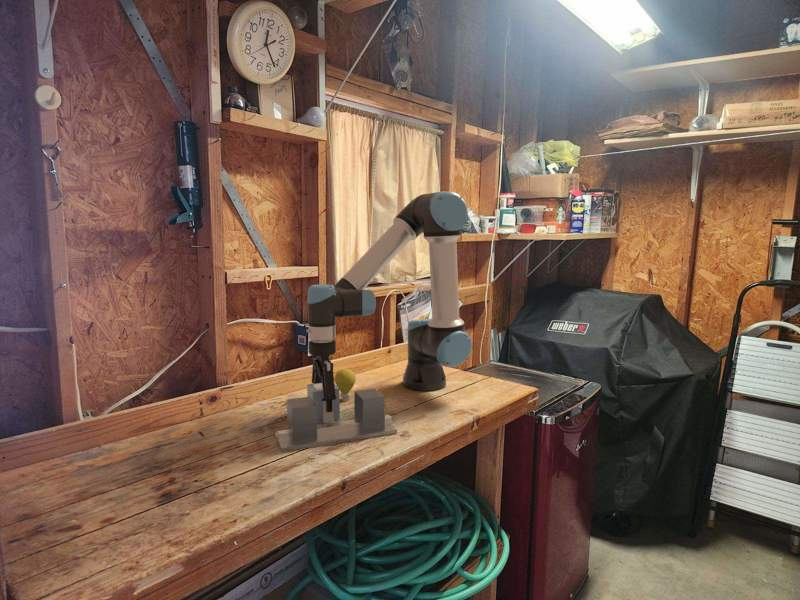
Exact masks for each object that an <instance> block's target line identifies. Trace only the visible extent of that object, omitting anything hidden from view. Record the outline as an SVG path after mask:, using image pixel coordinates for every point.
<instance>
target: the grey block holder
mask: <svg viewBox="0 0 800 600" xmlns="http://www.w3.org/2000/svg"><path fill="white" fill-rule="evenodd" d="M353 395H354V396H353V397H354V398H353V399H354V403H353V404H354V409H353V411H354V419H350V420H342V421H334V422H331V423H322V424H318V423H317V408H316V404H315V403H314V401H313V400H312V399H311V397H307V396H304V397H296V398H290V399H286V416H287V417H286V419H287V422H286V423H287V424H286V425H287V429H282V430H277V431H276V432H275V433H274V437H275V440H276V442H277V444H278V447H279V450H280V452H281V453H286V452H291V451H298V450H303V449H310V448H317V447H322V446H329V445H334V444H341V443H347V442H355V441H359V440H364V439H370V438H378V437H382V436H390V435H395V434H398V429H397V428H396V427H395V426H394V425H393V417H392V416H391V414H385V413H386V412H385V411H386V409H385V407H386V406H385V405H386V404H385V401H386V399H385V398H386V397H385V395H384V394H383V393H382V392H380V391H379V390H378V389H376V388H369V389H362V390H361V389H359V390H355V391H354V390H353Z"/></svg>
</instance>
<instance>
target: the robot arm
mask: <svg viewBox="0 0 800 600" xmlns="http://www.w3.org/2000/svg"><path fill="white" fill-rule="evenodd" d="M468 209H469V208H468V206H467V204H466V201H465V199H463V197H461V196H460V194H459V193H456V192H454V191H447V190H446V191H445V190H442V191H438V192H437V191H436V192H429V193H424V194H420V195H417V197H415V198H413V199H412V200H411V201H410V202H409V203H407V205H406V206H404V208H402V210H401V211H400V212H399V213H398V214H397V215H396V216H395V217H394V218H393V220H392V221H393V223H392V224H391V226H390V227H389V228H388V229H387V230H386V231H385V232H384V233H383V234H382V235H381V236H380V237H379V238H378V239H377V241H375V243H374V244H372V245H371V247H370V248H368V250H367V251H366V252H365V253H364V255H362V256H361V257H360V259H358V261H356V263H355V264H354V265H353V266H352V267H351V268H350V269H348V271H347V272H346V273H345V274H344V275H343V276H342V277H341V278H340V279H339V280H338V281H337V282H336V283H335V284H325V283H324V284H323V283H322V284H320V283H319V284H312V285H310V286H309V287H308V289H307V301H306V303H307V315H308V316H307V319H308V322H307V323H308V324H307V325H308V329H306V333H308V339H309V341H308V353H309V355H310V356H312V367H311V368H312V370H311V371H312V373H311V384H317V383H322V387H323V394H324V398H323V399H322V401H323V420H324V422H323V424H328V423H335V420H334V403H333V400H335V399H336V395H335V385H336V384H335V375H334V363H333V362H332V361H331V360H330V356H333V355H335V354H336V353H337V343H336V340H335V339H336V338H337V333H336V332H337V329H336V327H337V325H336V324H337V323H336V319H338V318H351V317H353V318H354V317H364V316H371V315H373V314H374V313H375V312H376V308H377V299H376V295H375V293H374V292H373V291H372V290H371V289H366V288H367V287H368V286H369V284H371V282H372V281H373V280H374V279H375V278H376V277H377V276H378V275H379V274H380V273H381V272H382V271H383V269H384V268H386V267H387V266H388V264H389V263H390V262H391V261H392V260H393V259H394V258H395V257H396V256H397V254H399V253H400V251H402V250H403V249H404V247H406V245H407V244H408V243H409V242H410V241H415V240H416V239H417V238H418V237H419V236H420V235H422V234H423V239H424V240H426V241H427V242H428V250H429V251H428V252H429V254H428V255H429V273H430V274H429V276H430V295H431V296H430V300H431V318H421V319H420V318H419V319H412V320H410V321H408V324H407V364H406V367H405V371H404V373H403V377H402V385H403V387H404V388H406V389H411V390H414V391H422V392H423V391H424V392H425V391H426V392H427V391H428V392H429V391H437V390H441V389H443V388H446V386H447V376H446V373H445V371H444V367H445V366H446V367H450V368H452V367H453V368H455V367H458V366H461V365H462V364H463V363H465V362H466V361H467V359H468V358H469V357H470V355H471V354H472V348H473V342H472V339H471V337H470V336H469V334H468V333H466V332H465V321H464V320H463V319H462V318H461V317H460V301H459V299H460V298H459V295H460V294H459V277H458V276H459V275H458V274H459V272H458V271H459V270H458V246H457V243H458V240H459V239H460V238H461V237H462V229H463V227H464V226H465V224H466V223H467V221H468V218H469V211H468ZM443 366H444V367H443ZM334 384H335V385H334ZM329 395H331V396H329Z"/></svg>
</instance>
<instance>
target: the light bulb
mask: <svg viewBox="0 0 800 600" xmlns="http://www.w3.org/2000/svg"><path fill="white" fill-rule="evenodd" d="M356 380H357V379H356V375H355V372H354V371H353V370H351V369H350V368H341V369H339V370H338V371H337V372H336V373H335V375H334V384H335V385H336V386H337V387H338V388H339V398H341V401H342V402H347V401H350V397H351V391H352V389H353V387H354V386H355V383H356Z"/></svg>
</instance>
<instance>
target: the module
mask: <svg viewBox="0 0 800 600" xmlns="http://www.w3.org/2000/svg"><path fill="white" fill-rule="evenodd" d="M334 385H335V395H336V399H335V400H333V403H334V421H338V420H340V418H341V415H340V414H341V411H340V409H341V407H340V406H341V405H340V403H341V402H340V390H339V388H338V387H337V385H336V383H334ZM306 390H307V392H306V393H307V394H306V395H307V396H306V397H311V399H312V400H313V401H314V403H315V404H316V408H317V424H319V423H324V420H323V401H322V399H323V398H324V394H323V387H322V383H317V384H313V383H310V384H307V385H306ZM329 396H331V395H329Z"/></svg>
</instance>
